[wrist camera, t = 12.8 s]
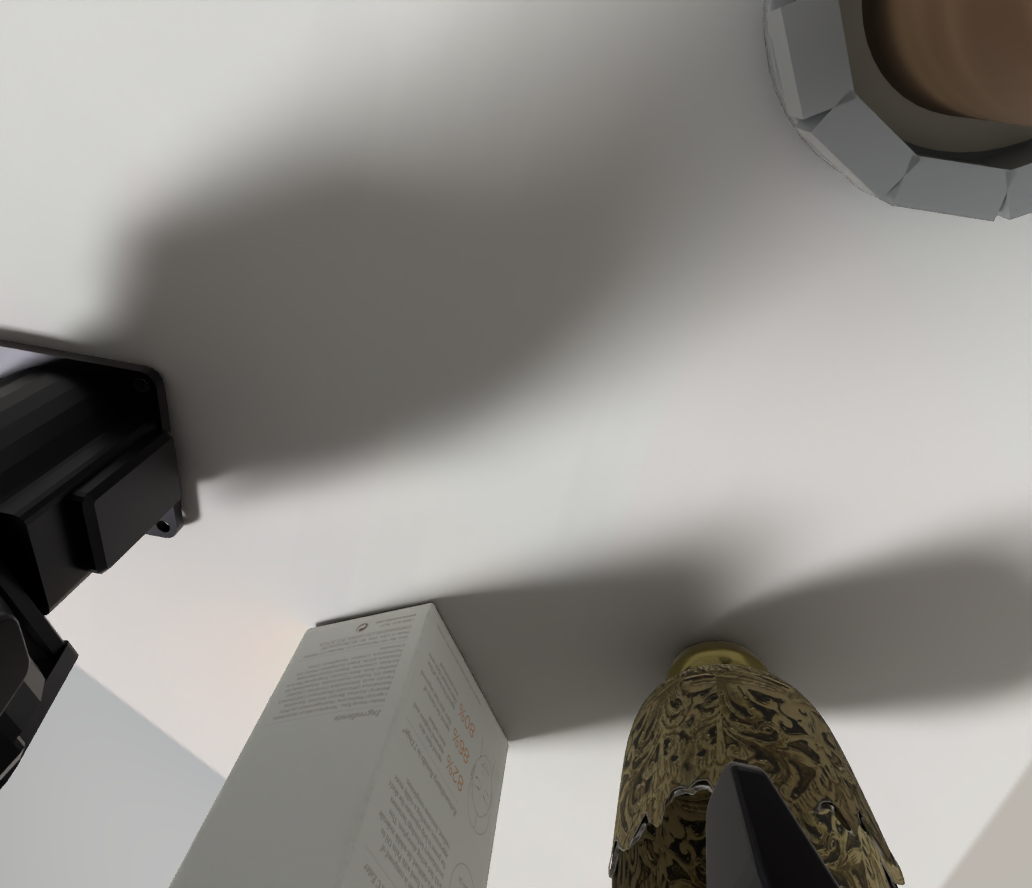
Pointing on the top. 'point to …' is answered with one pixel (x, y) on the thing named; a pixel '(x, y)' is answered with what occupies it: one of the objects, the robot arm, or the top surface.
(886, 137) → the ring
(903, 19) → the brown cylinder
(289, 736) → the small box
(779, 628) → the top surface
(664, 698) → the ornate scalloped vase
